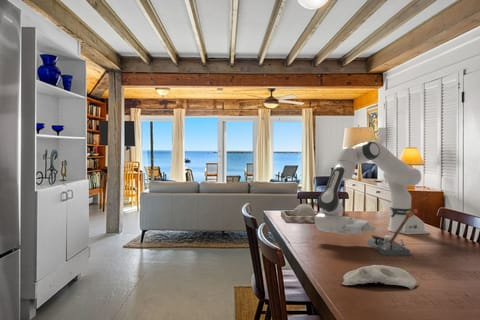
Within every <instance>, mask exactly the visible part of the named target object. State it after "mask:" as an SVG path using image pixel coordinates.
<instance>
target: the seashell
mask: <svg viewBox="0 0 480 320" xmlns="http://www.w3.org/2000/svg"><path fill="white" fill-rule="evenodd" d="M292 211H293V212H294V213H293V214H294V216H316V214H315V212H316V211H315V210H314V208H313V207H312V206H311V205H309V204H308V203H301V204H299V205H297V206H296V207H295V208H293V210H292ZM314 211H315V212H314Z"/></svg>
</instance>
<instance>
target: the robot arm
mask: <svg viewBox="0 0 480 320" xmlns="http://www.w3.org/2000/svg"><path fill="white" fill-rule="evenodd" d="M370 161H371V162H372V163H373V164H374V165H375V166H376V167H378V168H379V170H381V171H382V172H383V178H384V180H385V182H386V183H387V185H388V187H389V190H390V198H391V200H390V201H391V202H390V204H391V205H390V209H389V216H390V219H389V224H388V228H387V230H388V231H389V232H392V233H396V231H397V229H398V228H399V226H400V225H401V223H402V222H403V220H404V219H405V217H406V212H407V211H412V212H413V216H412V217H410V218H408V220H407V221H406V223H405V224H404V226H403V227H402V229H401V230H400V232H399V234H404V235H422V234H423V235H427V234H429V233H430V232H429V230H428V229H425V223H424V221H423V220H421V219H420V218H419V217H418V216H416V215H415V214H418V210H417V209H413V208H412V194H411V192H409V191H408V189H407V186H408V187H411V186H417V185H418V184H419V183H420V182H421V181H422V173H421V171H420V170H419V169H417V168H415V167H413V166H410V164H408V163H406V162H405V161H403V160H402V159H399V158H398V157H397V156H395V154H393V153H392V152H391V151H390V150H389V149H388V148H387V147H386V146H385V145H383V144H382V143H380V142H378V141H377V140H369V141H365V142H361V143H357V144H356V145H354V146H345V147H343V148H341V150H340V152H339V153H338V155H337V158H336V160H335V164H334V167H333V169H332V171H331V174H330V176H329V178H328V180H327V183H326V186H325V188H324V189H323V191H322V192H321V194H320V195H319V196H318V200H317V201H318V202H317V203H318V206H319V207H320V208H321V211H319V212H318V214H317V215H316V216H315V223H314V225H315V228H316V229H317V230H319V231H322V232H326V233H336V234H340V235H341V234H342V235H350V234H352V235H357V236H358V235H359V236H360V235H361V234H362V233H364V232H374V231H375V230H376V226H373V225H370V221H369V220H365V219H360V218H354V217H353V216H344V215H343V213H344V206H343V203H342V202H341V201H340V199H339V194H338V193H339V189H340V187H341V185H342V181H349V180H351V179H352V178H353V175H354V174H355V172H356V166H357V165H360V164H365V163H366V162H370Z"/></svg>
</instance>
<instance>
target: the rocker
mask: <svg viewBox="0 0 480 320" xmlns="http://www.w3.org/2000/svg"><path fill="white" fill-rule="evenodd" d="M371 239H377V240H378V239H381V241H384V239H385V237H383V236H379V235H375V234H371Z"/></svg>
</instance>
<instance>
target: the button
mask: <svg viewBox="0 0 480 320" xmlns="http://www.w3.org/2000/svg"><path fill="white" fill-rule="evenodd" d="M392 237H393V235H392V236H391V235H384V239H385V241H387V242H389V240H391V239H392Z"/></svg>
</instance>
